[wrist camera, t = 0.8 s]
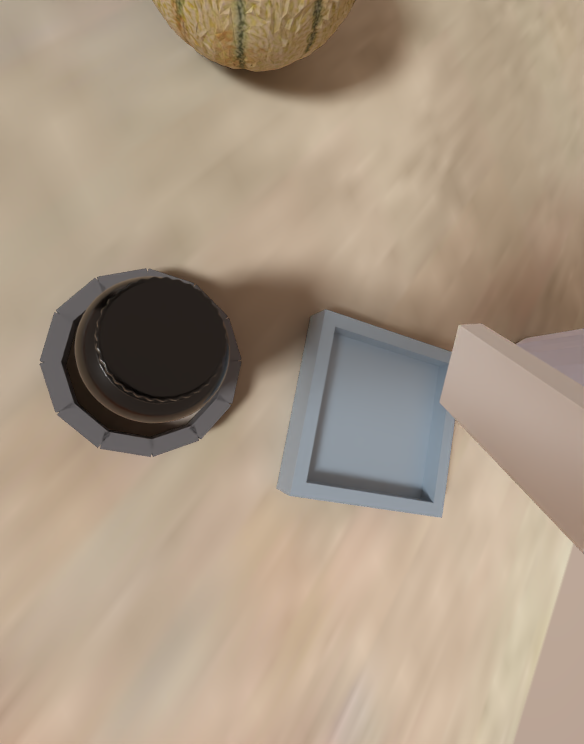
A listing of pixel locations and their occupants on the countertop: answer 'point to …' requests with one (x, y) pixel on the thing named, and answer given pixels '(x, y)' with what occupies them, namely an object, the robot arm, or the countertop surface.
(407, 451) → the tray
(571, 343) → the soap bottle
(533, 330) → the countertop surface
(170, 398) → the supplement bottle
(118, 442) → the holster ring
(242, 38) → the cantaloupe
